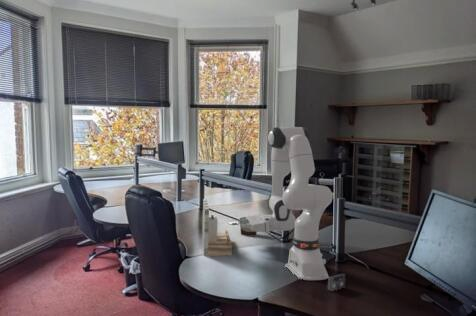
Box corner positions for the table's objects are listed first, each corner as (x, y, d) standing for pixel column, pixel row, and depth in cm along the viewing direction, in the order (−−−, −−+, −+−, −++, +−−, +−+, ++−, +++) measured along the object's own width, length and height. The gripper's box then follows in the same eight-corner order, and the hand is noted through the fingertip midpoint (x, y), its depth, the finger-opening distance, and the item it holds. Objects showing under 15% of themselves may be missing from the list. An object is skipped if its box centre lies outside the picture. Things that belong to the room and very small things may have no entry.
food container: (260, 233, 225) (261, 217, 224) (258, 236, 220) (259, 220, 219) (241, 231, 229) (241, 215, 228) (238, 234, 223) (239, 218, 222)
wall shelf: (231, 255, 188) (232, 209, 185) (203, 255, 186) (204, 209, 183) (226, 240, 211) (227, 199, 209) (202, 240, 209) (203, 199, 207)
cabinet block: (216, 241, 196) (217, 216, 194) (207, 241, 195) (208, 216, 194) (216, 238, 201) (216, 214, 199) (207, 238, 200) (207, 214, 199)
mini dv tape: (342, 286, 155) (343, 273, 154) (344, 288, 154) (345, 274, 153) (327, 290, 151) (328, 276, 150) (329, 292, 150) (330, 277, 149)
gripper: (261, 212, 210) (237, 213, 208) (269, 221, 190) (243, 222, 188) (261, 223, 210) (237, 224, 208) (269, 233, 190) (242, 234, 188)
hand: (240, 223), depth 198 cm, fingers open, 8 cm apart
